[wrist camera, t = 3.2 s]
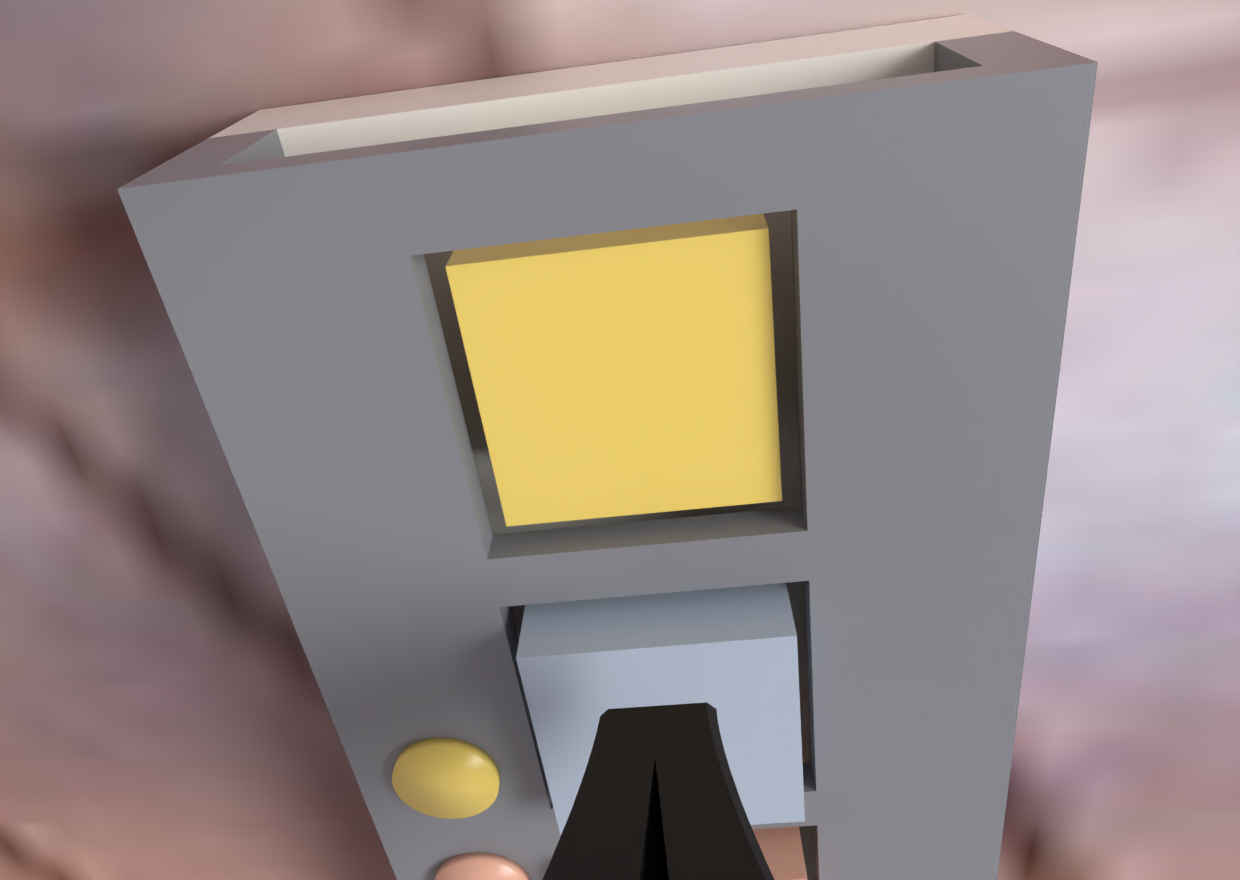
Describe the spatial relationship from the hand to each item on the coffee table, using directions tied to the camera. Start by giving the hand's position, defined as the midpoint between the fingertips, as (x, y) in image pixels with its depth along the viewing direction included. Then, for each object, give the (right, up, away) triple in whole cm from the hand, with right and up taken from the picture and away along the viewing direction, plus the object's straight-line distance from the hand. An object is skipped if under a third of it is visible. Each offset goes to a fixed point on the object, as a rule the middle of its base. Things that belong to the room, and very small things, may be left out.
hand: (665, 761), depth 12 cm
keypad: (+1, 0, +9) cm, 9 cm away
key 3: (0, 0, +4) cm, 4 cm away
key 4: (0, +6, +2) cm, 6 cm away
